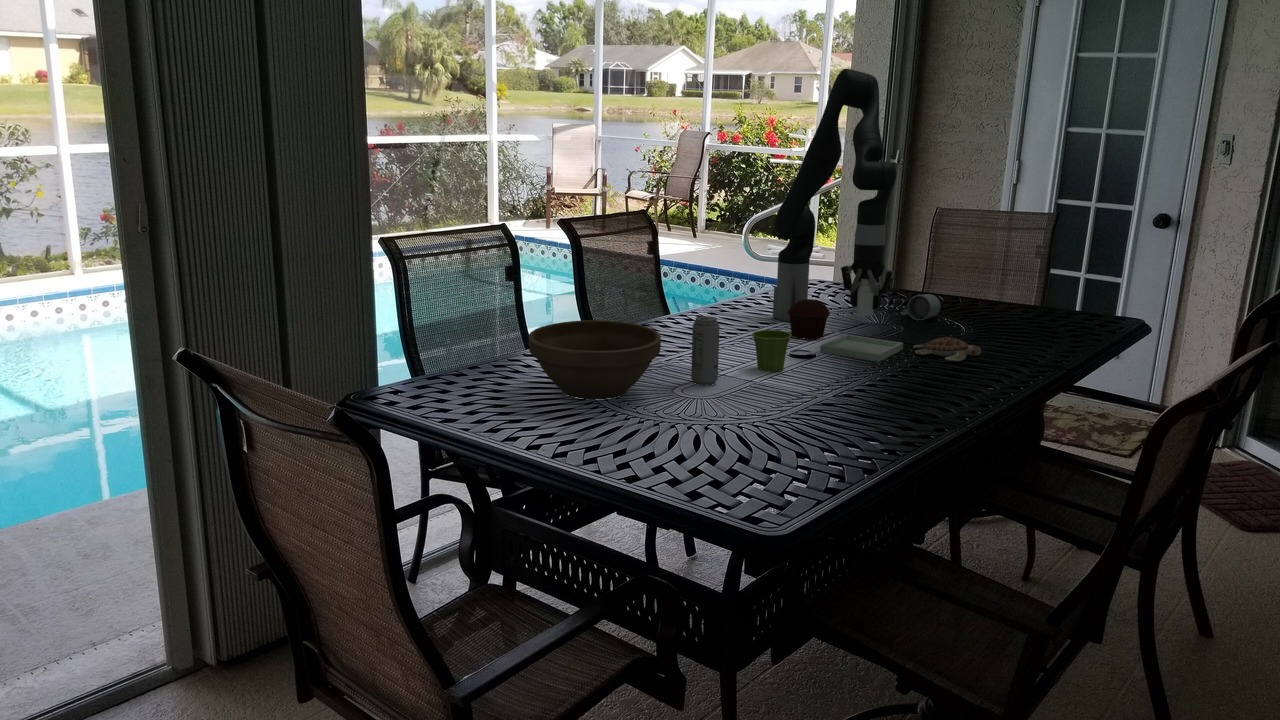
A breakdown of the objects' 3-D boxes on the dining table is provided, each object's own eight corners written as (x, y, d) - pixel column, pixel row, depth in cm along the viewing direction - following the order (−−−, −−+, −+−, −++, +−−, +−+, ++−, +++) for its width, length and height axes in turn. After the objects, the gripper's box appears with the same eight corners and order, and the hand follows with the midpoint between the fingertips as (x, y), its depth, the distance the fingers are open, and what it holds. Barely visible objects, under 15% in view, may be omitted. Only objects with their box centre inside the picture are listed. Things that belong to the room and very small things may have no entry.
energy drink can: (720, 386, 211) (722, 320, 207) (694, 387, 210) (696, 321, 206) (714, 378, 217) (716, 315, 213) (688, 379, 216) (690, 315, 212)
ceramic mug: (941, 318, 285) (943, 293, 283) (929, 322, 279) (931, 296, 277) (909, 313, 292) (910, 289, 290) (896, 317, 286) (898, 292, 284)
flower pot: (677, 406, 196) (678, 344, 193) (543, 416, 189) (542, 353, 185) (638, 371, 223) (639, 317, 219) (519, 379, 215) (518, 323, 212)
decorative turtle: (985, 367, 231) (987, 347, 230) (916, 363, 234) (917, 343, 233) (975, 349, 248) (977, 331, 247) (910, 346, 252) (912, 328, 250)
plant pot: (746, 372, 223) (747, 336, 221) (755, 362, 232) (757, 328, 229) (785, 376, 220) (787, 340, 218) (793, 366, 228) (795, 331, 226)
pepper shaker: (855, 313, 244) (858, 277, 242) (871, 313, 244) (873, 277, 241) (857, 316, 240) (860, 279, 238) (873, 316, 240) (876, 280, 237)
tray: (819, 352, 243) (820, 345, 242) (845, 340, 255) (846, 334, 255) (878, 361, 233) (879, 354, 233) (902, 349, 246) (903, 343, 245)
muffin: (800, 342, 253) (802, 305, 251) (778, 333, 263) (780, 298, 261) (837, 338, 258) (839, 302, 255) (814, 330, 268) (816, 295, 265)
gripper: (837, 241, 238) (833, 306, 243) (891, 246, 230) (886, 313, 234) (849, 238, 244) (845, 302, 248) (902, 242, 236) (897, 309, 240)
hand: (865, 307), depth 241 cm, fingers closed on pepper shaker, 5 cm apart
